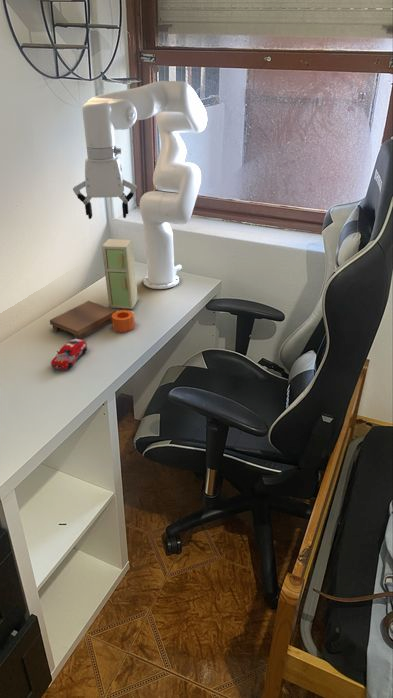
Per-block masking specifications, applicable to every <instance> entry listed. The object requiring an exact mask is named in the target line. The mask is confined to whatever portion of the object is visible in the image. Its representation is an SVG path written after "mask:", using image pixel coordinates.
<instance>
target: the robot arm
mask: <svg viewBox="0 0 393 698" xmlns="http://www.w3.org/2000/svg"><path fill="white" fill-rule="evenodd" d="M151 117H155V121H156V126H157V130H158V133H159V137H160V138H159V139H160V143H161V145H160V151H159V154H158V158H157V161H156V164H155V166H154V167H155V168H154V171H153V175H152V183H153V186H154V187H155V189H157V191H156V190H153V191H152V190H151V191H147V192H145V193H144V194H143V195H142V196H141V197H140V199H139V200H140V201H139V211H140V212H139V213H140V216H141V218H142V219H141V220H142V224H143V231H144V242H145V243H144V244H145V257H146V258H145V260H146V272H147V273H146V274H147V275H146V276H145V277H143V279H142V280H143V285H144V286H146V288H150V289H153V290H166V289H170V288H174V287H176V286H177V285H178V284H179V283H180V277H179V276H178V275H177V273H178V272H179V271H181V270H182V269H183V267H182V265H181V264H177V265H175V252H174V251H175V249H174V247H175V246H174V233H173V229H172V227H171V225H170V224H172V225H181V226H182V225H185V224H187V223H189V221H190V220H191V217H192V215H193V212H194V208H195V204H196V202H197V199H198V194H199V190H200V187H201V183H202V173H201V170H200V168H199V166H198V165H196V164H195V163H193V162H187V161H186V162H185V159H186V156H187V148H186V145H185V143H184V140H183V139H182V137H181V136H180V134H179V133H185V134H199V133H202V132H203V131H204V130H205V129H206V127H207V122H208V115H207V111H206V109H205V106H204V104H203V102H202V101H201V99H200V98H199V96H198V94H197V93H196V91H195V90H194V88H193V87H192V86H191V85H190V84H189V83H187V82H185V81H182V80H158V81H153V82H151V83H148V84H144V85H141V86H138V87H134V88H128V89H127V88H126V89H123V90H119V91H118V90H117V91H112V92H106V93H103V94H99V95H96V96H93V97H90V98H89V99H88V100H87V101H86V103H84V104H83V105H82V120H83V129H84V137H85V146H86V155H87V156H86V158H85V161H84V180H83V181H82V182H80V183H78V184H77V185H75V186H74V187H73V188H72V191H73V193H74V195H75V196H76V197H77V199H78V200H79V201H80V202H81V203H83V205H84V209H85V216H87V217H88V219H89V220H91V219H92V218H93V209H92V203H91V200H92V198H93V199H96V198H97V199H99V198H100V199H101V198H102V199H103V198H119V199H120V200H121V201H122V202H121V203H122V204H121V206H122V208H121V209H122V218H123V219H126V218H127V215H129V202H130V200H132V199H133V198H134V195H135V192H136V191H137V185H136V184H134V183H132V182H129V180H128V181H127V180H125V179H124V176H123V169H122V163H121V161H120V160H121V159H120V157H118V155H122V149H121V148H120V147H119V148H118V147H117V146H116V142H115V141H116V140H115V131H119V130H120V131H121V130H122V131H124V130H129V129H131V128H132V127H133V126H134V125H135V123H136V121H142V120H148V119H149V118H151ZM125 187H126V188H128V189H129V190H130V191H129V192H128V194H127V195H126V194H125V192H124V191H125ZM84 188H85V193H86V196H85V195H84V194H83V193H82V192H81V190H82V189H84ZM158 190H159V191H158Z"/></svg>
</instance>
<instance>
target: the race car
mask: <svg viewBox="0 0 393 698" xmlns="http://www.w3.org/2000/svg"><path fill="white" fill-rule="evenodd" d="M87 350H88V344H87V342H86V340H84V339H82V340H81V339H75V338H74V339H71V340H69V341H67V342H65V344H63V345H62V347H60V348H59V350H56V353H57V354H56V355H55V356H54V357H53V359H51V361H50V365H51V368H52V369H53V370H56V371H66V370H71V369H72V367H73V366H74V365H75V364H76V363H77V361H79V360H80V358H81V357H83V356H84V355H85V354H86V353H87Z"/></svg>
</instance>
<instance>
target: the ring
mask: <svg viewBox="0 0 393 698" xmlns="http://www.w3.org/2000/svg"><path fill="white" fill-rule="evenodd" d="M111 324H112V329H113V330H114V331H116V332H119V333H125V332H130V331H133V330H134V329H135V327H136V323H135V314H134V312H133V311H131V310H129V309H121V310H116V312H115V313H113V314H112V323H111Z"/></svg>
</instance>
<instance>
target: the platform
mask: <svg viewBox="0 0 393 698" xmlns="http://www.w3.org/2000/svg"><path fill="white" fill-rule="evenodd" d="M116 311H117V309H115V308H110V307H109V306H105V305H102V304H99V303H96V302H94V301H91V300H87V301H85V302H83V303H81V304H79V305H77V306H75V307H73V308H70V309H69V310H66V311H65V312H63V313H61V314H58V315H57V316H55V317H53V318H51V319H49V324H50V326H51V327H52V331H54V332H60V331H62V330H63V331H65V332H68V333H70V334H72V335H74V339H81V340H84V339H86V338H88V337H90V336H91V335H93V334H95V333H97V332H98V331H100V330H102V329H104V328H106V327H107V326H110V325H111V324H112V314H113V313H115V312H116Z"/></svg>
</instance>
